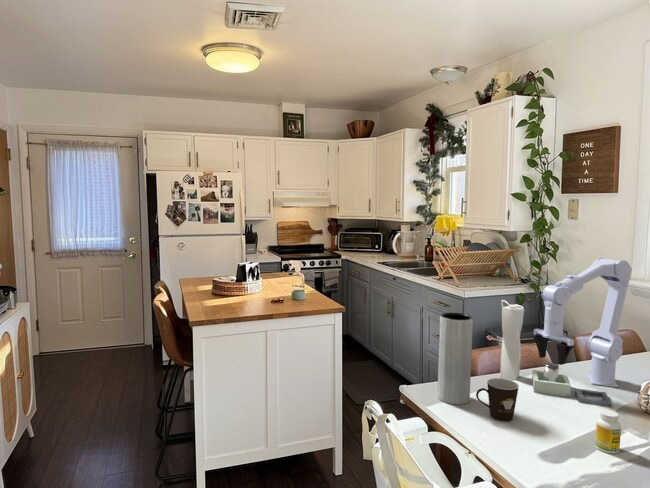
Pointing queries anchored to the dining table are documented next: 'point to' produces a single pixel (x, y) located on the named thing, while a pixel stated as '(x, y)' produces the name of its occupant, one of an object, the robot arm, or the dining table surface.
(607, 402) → the grey square frame
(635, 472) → the dining table surface
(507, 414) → the coffee mug
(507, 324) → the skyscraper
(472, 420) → the dining table surface
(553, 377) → the shiny metal cylinder
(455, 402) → the vase
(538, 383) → the bin
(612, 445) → the supplement bottle
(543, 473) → the dining table surface
